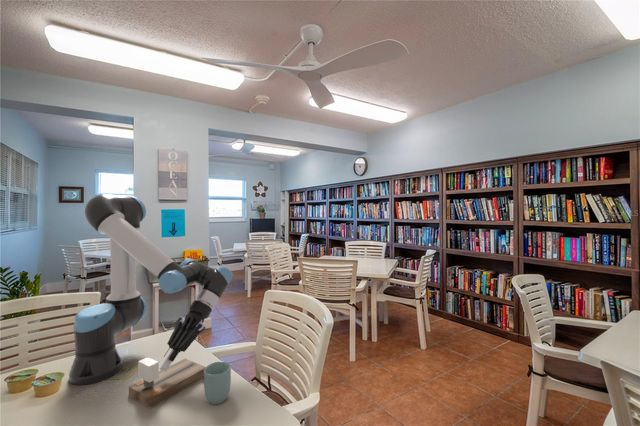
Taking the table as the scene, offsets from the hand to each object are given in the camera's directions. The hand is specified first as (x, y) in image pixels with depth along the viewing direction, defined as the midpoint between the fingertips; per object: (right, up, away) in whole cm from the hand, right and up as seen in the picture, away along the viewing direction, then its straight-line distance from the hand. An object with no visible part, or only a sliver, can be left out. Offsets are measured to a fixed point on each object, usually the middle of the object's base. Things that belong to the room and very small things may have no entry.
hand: (161, 369), depth 97 cm
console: (+1, -7, +3) cm, 7 cm away
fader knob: (-2, -3, -3) cm, 5 cm away
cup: (+20, -7, -5) cm, 22 cm away
